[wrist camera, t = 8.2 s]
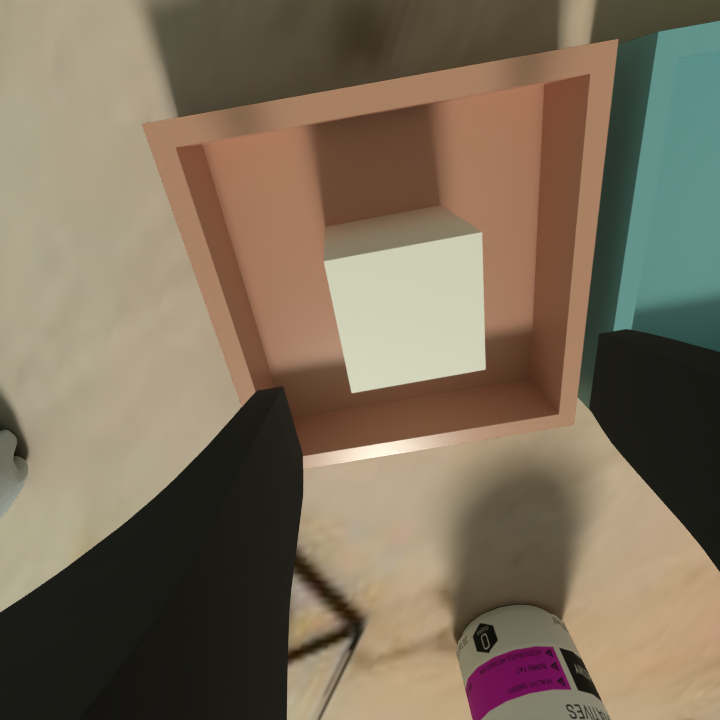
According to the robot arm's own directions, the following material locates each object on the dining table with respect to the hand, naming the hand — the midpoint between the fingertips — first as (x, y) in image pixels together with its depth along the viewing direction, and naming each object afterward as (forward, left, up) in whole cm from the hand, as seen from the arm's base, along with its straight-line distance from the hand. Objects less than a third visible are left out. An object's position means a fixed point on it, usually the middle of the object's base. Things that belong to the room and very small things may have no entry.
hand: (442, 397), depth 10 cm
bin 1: (0, 0, -9) cm, 9 cm away
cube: (0, 0, -9) cm, 9 cm away
